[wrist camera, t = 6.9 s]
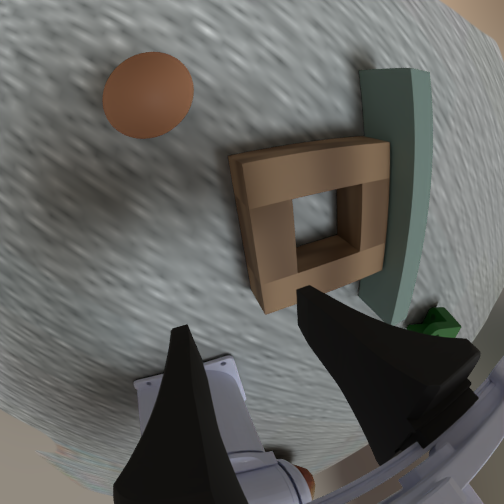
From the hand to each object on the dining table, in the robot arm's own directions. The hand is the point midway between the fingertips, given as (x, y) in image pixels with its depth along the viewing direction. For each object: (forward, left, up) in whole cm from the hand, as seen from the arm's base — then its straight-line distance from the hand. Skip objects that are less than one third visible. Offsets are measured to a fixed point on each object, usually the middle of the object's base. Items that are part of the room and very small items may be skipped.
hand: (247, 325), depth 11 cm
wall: (+14, 0, -8) cm, 16 cm away
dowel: (-2, +9, -8) cm, 12 cm away
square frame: (+7, 0, -8) cm, 11 cm away
